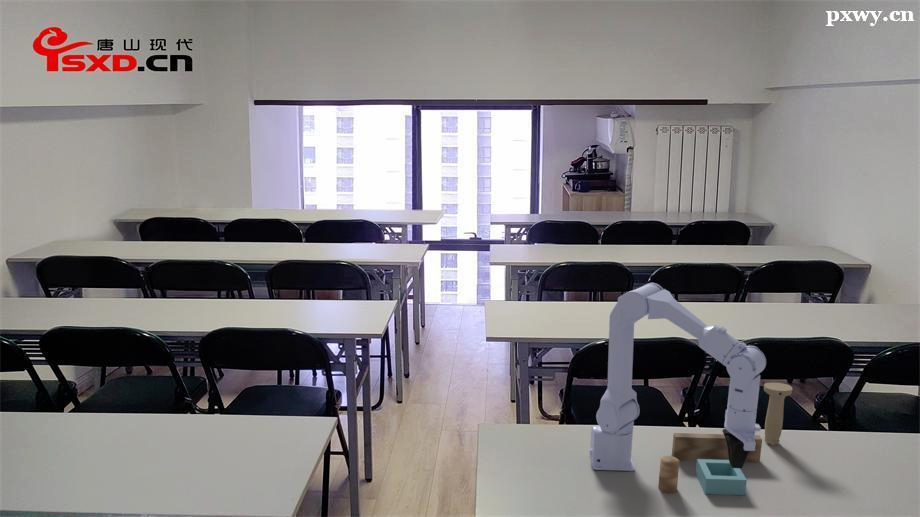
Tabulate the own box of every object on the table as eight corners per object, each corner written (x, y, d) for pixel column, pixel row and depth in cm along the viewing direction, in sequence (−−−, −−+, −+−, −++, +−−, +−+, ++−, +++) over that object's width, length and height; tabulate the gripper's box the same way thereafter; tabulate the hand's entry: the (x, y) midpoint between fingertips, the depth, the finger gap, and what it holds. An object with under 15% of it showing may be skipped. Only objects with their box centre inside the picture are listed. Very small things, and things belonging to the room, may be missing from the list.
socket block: (704, 493, 177) (706, 478, 176) (695, 473, 185) (697, 459, 184) (744, 495, 176) (746, 480, 175) (733, 474, 185) (735, 460, 184)
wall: (673, 460, 191) (675, 436, 190) (671, 455, 193) (673, 432, 191) (759, 462, 190) (762, 439, 189) (756, 458, 192) (759, 435, 191)
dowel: (660, 493, 177) (662, 464, 175) (656, 483, 181) (658, 455, 179) (678, 494, 177) (681, 465, 175) (674, 484, 181) (677, 456, 179)
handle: (787, 448, 197) (794, 391, 193) (760, 446, 198) (766, 390, 194) (782, 439, 202) (789, 383, 198) (755, 437, 202) (762, 381, 199)
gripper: (773, 422, 158) (766, 484, 162) (751, 391, 172) (745, 449, 176) (737, 421, 159) (730, 483, 162) (717, 390, 173) (712, 448, 176)
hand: (735, 465), depth 169 cm, fingers closed
